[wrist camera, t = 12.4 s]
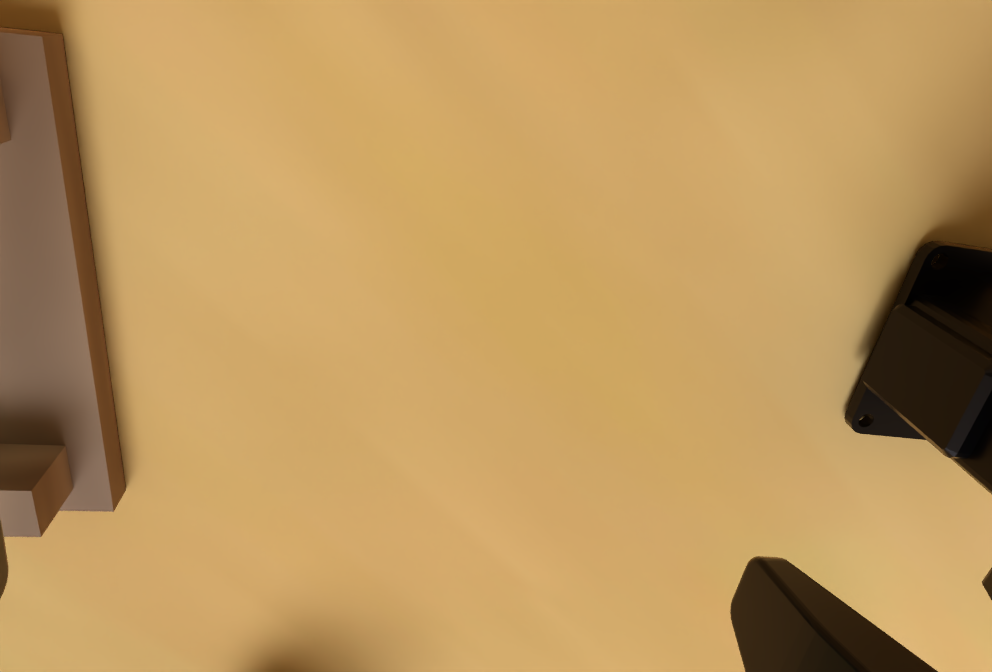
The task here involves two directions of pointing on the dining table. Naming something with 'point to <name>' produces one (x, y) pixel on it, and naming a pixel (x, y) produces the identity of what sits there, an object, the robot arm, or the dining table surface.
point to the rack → (48, 304)
